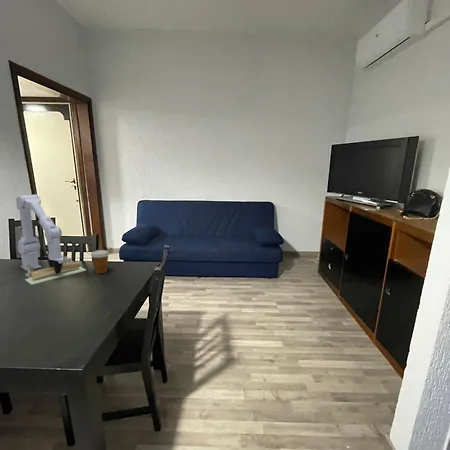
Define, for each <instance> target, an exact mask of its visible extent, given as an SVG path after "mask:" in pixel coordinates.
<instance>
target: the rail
mask: <svg viewBox="0 0 450 450" xmlns="http://www.w3.org/2000/svg"><path fill="white" fill-rule="evenodd" d="M79 267H81V265H80V261H77V260H76V261H71V263H67V264H66V263H63V265H62V267H61V272H63V271H67V270H71V269H75V268H79ZM55 273H56V272H55V269H54V267H51V266H50V267H47V268H42V269H38V270H33V272H31V278H33V279H35V278H39V277H43V276H47V275H51V274H55Z"/></svg>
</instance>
